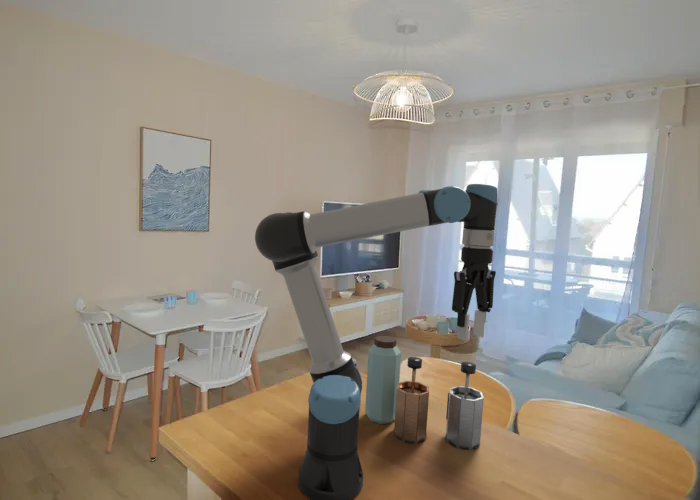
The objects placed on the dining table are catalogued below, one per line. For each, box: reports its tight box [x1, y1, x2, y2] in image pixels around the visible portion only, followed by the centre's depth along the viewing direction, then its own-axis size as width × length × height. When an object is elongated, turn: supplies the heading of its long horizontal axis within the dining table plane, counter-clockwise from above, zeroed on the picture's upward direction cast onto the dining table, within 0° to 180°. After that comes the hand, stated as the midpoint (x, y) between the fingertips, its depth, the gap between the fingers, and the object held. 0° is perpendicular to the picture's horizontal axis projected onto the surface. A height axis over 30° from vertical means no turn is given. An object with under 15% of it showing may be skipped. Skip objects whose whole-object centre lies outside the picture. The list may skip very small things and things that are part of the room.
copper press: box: [393, 380, 430, 444], centre depth 119 cm, size 9×10×14 cm
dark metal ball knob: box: [456, 361, 477, 400], centre depth 116 cm, size 7×7×11 cm
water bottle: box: [364, 335, 402, 425], centre depth 127 cm, size 10×10×25 cm
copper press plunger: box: [403, 356, 423, 394], centre depth 118 cm, size 7×7×11 cm
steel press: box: [445, 385, 485, 451], centre depth 117 cm, size 9×10×14 cm
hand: (470, 337), depth 105 cm, fingers open, 6 cm apart
